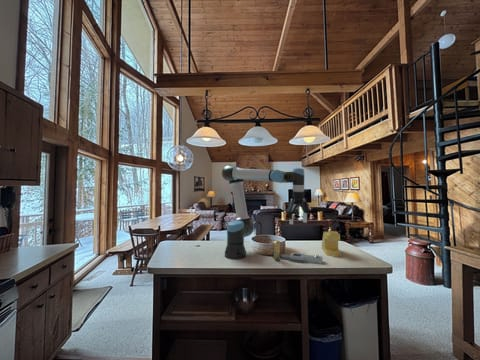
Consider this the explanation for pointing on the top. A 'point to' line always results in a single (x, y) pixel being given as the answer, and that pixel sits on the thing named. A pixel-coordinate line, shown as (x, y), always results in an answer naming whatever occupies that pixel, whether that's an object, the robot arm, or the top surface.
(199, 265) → the top surface
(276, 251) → the pin
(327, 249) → the yellow irregular block
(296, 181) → the robot arm
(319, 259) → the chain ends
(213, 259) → the top surface
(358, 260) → the top surface
